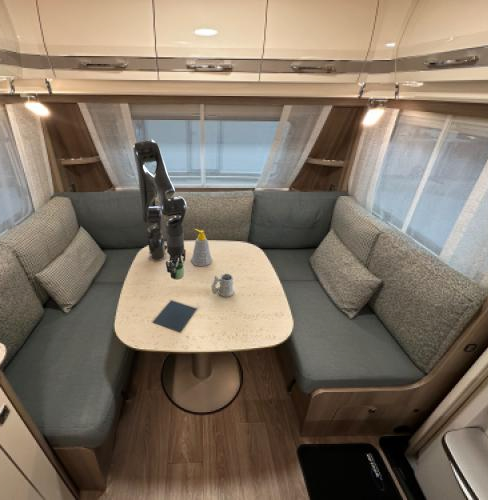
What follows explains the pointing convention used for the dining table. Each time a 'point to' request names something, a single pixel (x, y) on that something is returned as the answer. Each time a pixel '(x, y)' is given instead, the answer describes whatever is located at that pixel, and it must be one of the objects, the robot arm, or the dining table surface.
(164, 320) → the placemat
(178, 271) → the green cup
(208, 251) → the soap bottle
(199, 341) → the dining table surface
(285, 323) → the dining table surface
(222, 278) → the mug
